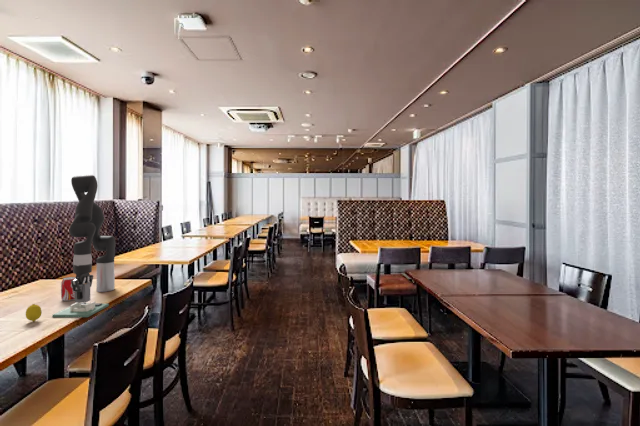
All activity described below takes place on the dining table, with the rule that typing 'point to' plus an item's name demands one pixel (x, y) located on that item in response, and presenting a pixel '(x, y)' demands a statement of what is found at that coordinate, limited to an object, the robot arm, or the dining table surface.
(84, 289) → the plug
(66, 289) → the soda can
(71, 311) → the board
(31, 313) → the lemon
